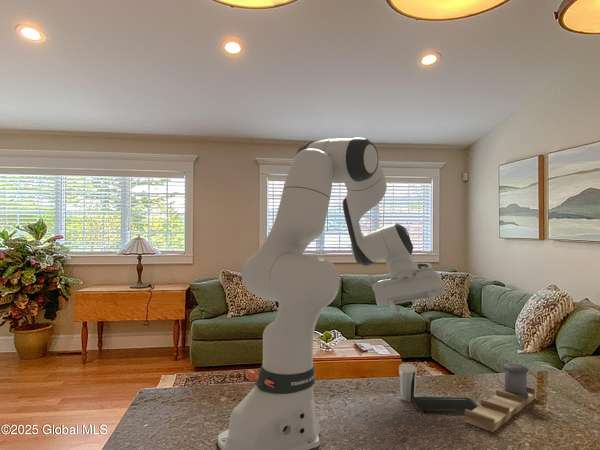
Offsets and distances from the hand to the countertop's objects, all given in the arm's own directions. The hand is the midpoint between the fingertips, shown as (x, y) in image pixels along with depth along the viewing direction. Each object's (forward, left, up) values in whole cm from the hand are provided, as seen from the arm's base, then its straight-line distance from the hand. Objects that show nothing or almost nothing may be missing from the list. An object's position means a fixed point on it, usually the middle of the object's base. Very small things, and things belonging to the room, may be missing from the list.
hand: (414, 309), depth 116 cm
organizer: (+3, -23, -21) cm, 32 cm away
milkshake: (-9, -5, -22) cm, 24 cm away
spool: (+11, -23, -20) cm, 32 cm away
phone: (-6, -13, -22) cm, 26 cm away
